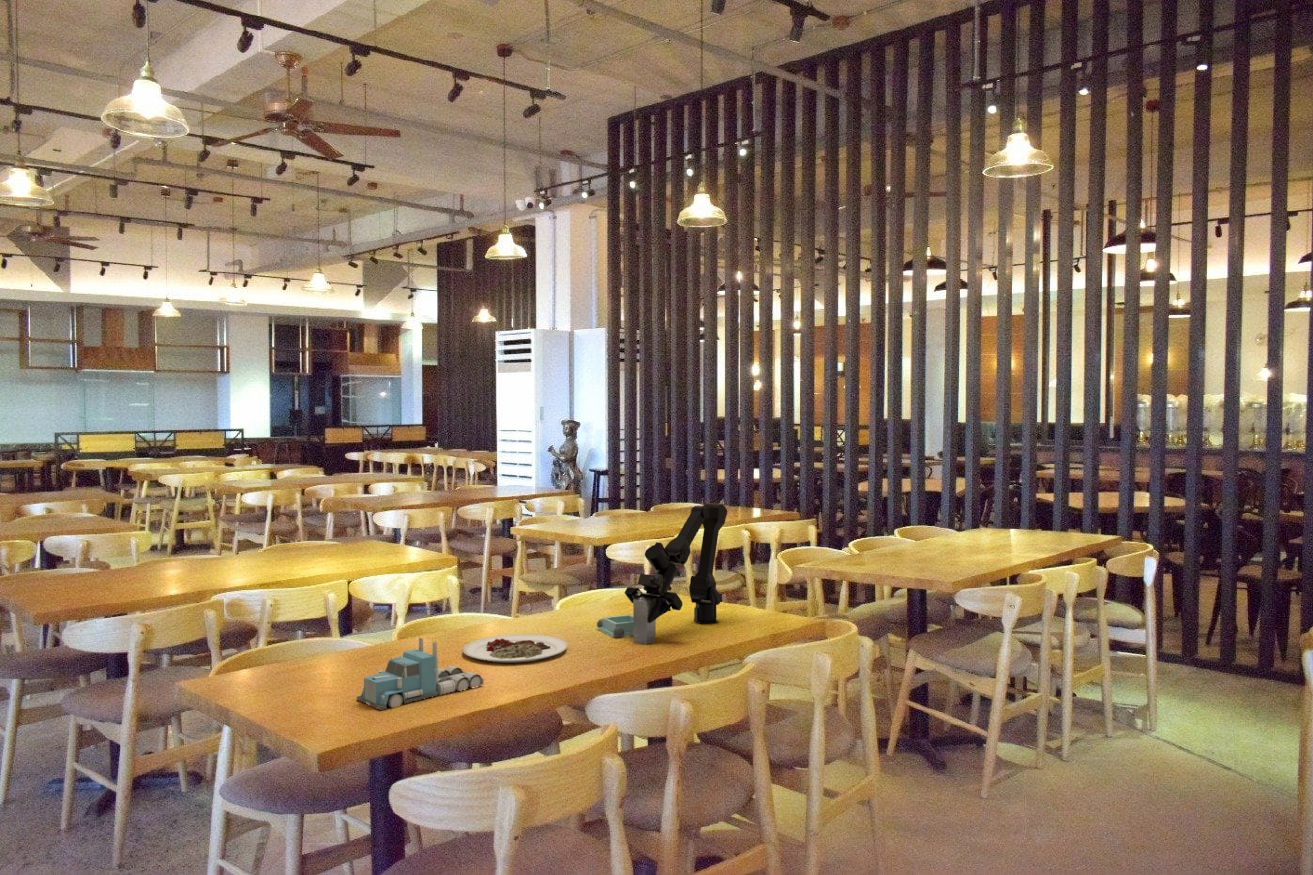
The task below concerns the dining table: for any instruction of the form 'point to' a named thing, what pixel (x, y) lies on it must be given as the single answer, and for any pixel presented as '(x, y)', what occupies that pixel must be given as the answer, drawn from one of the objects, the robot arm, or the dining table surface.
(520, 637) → the plated food
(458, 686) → the truck
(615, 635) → the chassis
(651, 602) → the grey upright pillar
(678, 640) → the dining table surface
